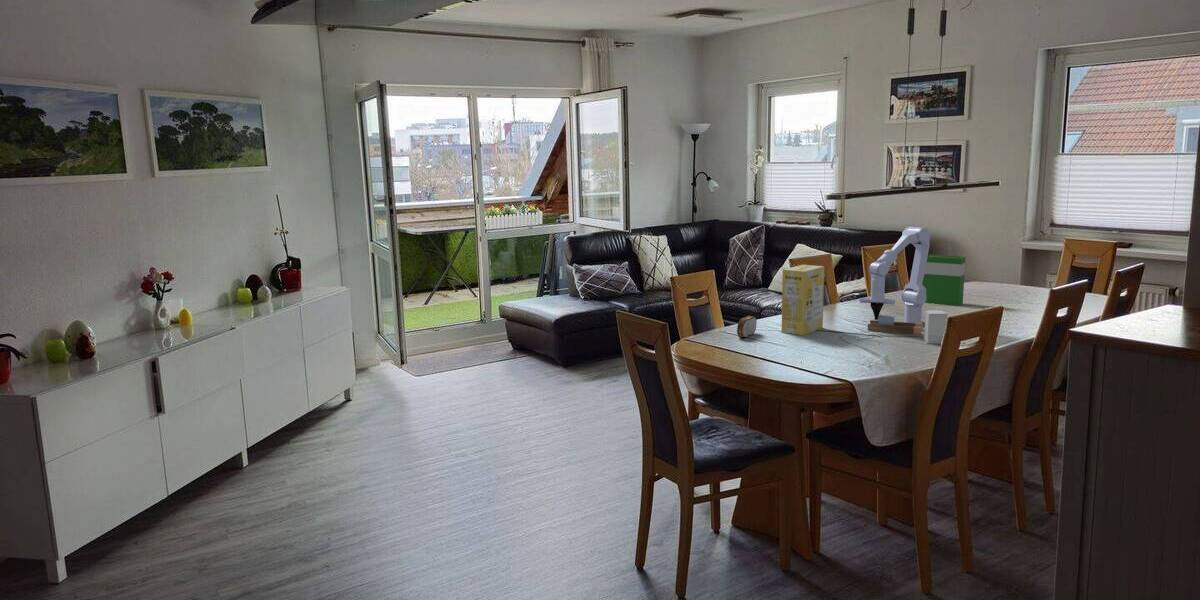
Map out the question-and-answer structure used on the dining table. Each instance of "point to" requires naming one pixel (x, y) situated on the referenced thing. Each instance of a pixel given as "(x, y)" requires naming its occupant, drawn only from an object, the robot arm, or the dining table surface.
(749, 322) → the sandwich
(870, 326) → the brown wooden rails
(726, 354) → the dining table surface
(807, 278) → the pasta box
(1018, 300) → the dining table surface
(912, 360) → the dining table surface
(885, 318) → the block
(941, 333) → the supplement box
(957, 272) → the hardback book
